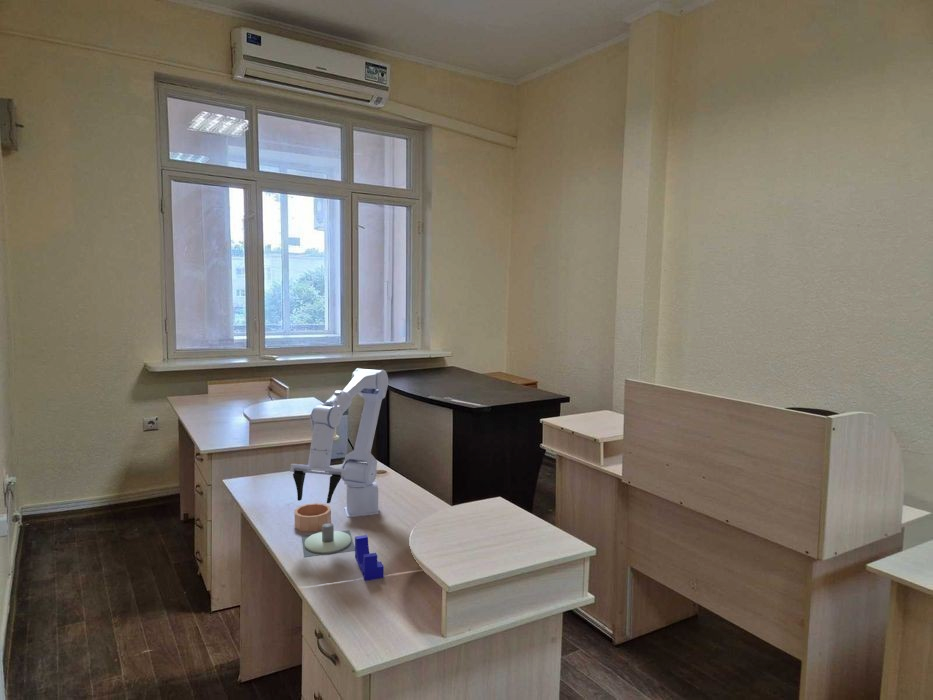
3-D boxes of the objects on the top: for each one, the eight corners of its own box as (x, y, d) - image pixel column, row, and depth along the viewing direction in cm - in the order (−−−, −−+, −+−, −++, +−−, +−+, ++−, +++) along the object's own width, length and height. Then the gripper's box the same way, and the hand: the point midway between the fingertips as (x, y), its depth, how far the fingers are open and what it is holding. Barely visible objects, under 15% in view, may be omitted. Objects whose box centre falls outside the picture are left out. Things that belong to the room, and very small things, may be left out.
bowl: (329, 516, 174) (328, 502, 173) (332, 529, 164) (332, 514, 164) (294, 520, 171) (293, 505, 170) (295, 534, 161) (295, 518, 161)
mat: (349, 531, 163) (349, 530, 163) (355, 551, 151) (355, 550, 151) (301, 537, 159) (301, 535, 159) (304, 558, 147) (304, 557, 147)
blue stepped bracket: (383, 578, 138) (383, 554, 138) (364, 581, 137) (364, 557, 136) (372, 556, 149) (372, 534, 149) (355, 559, 148) (354, 536, 147)
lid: (347, 531, 163) (347, 514, 162) (353, 549, 151) (353, 532, 151) (303, 536, 159) (303, 519, 158) (305, 555, 148) (305, 537, 147)
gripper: (290, 448, 152) (283, 500, 150) (346, 453, 153) (339, 506, 152) (296, 446, 159) (289, 497, 157) (349, 452, 160) (342, 502, 159)
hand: (314, 501), depth 155 cm, fingers open, 7 cm apart
